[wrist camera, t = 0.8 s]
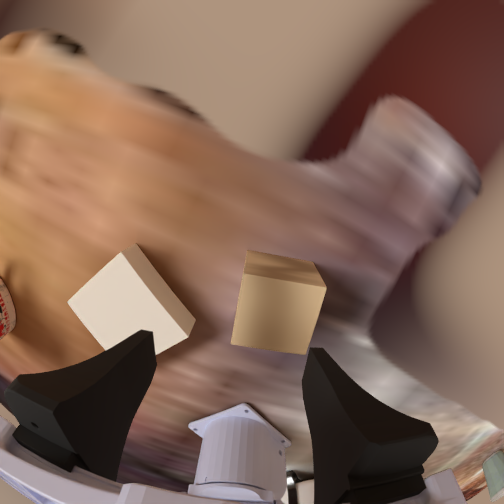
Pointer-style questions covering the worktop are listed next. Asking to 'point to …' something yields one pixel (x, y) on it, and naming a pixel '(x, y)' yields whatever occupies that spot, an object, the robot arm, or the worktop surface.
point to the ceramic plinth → (131, 303)
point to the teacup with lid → (6, 311)
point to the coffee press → (298, 490)
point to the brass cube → (277, 303)
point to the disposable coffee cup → (495, 475)
